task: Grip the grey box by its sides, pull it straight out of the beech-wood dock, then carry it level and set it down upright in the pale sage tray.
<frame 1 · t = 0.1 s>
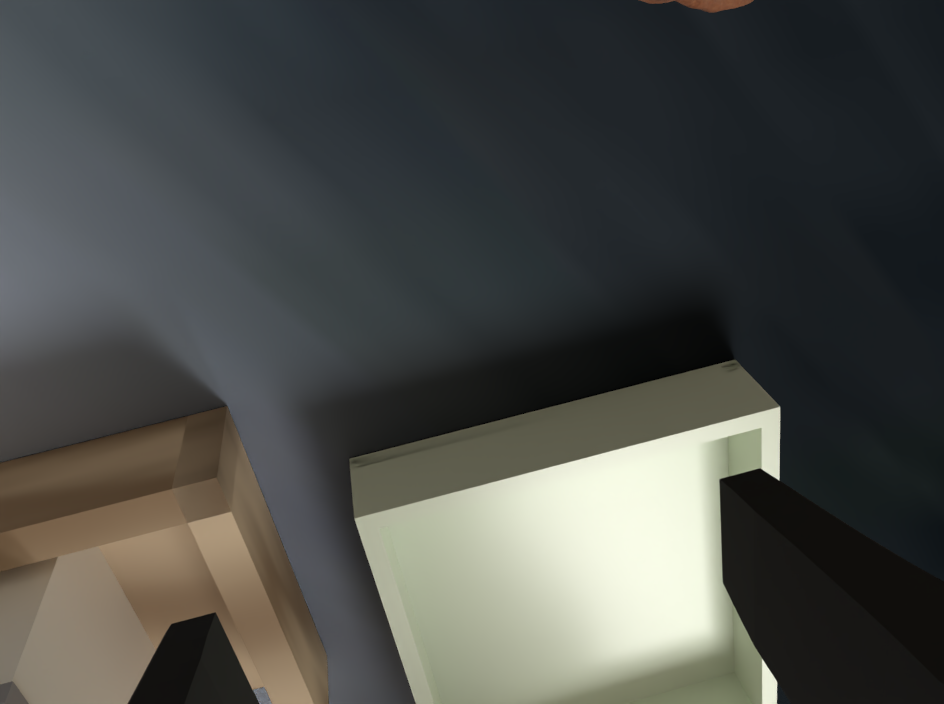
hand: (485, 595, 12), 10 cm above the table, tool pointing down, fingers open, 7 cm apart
tray: (572, 577, 26), on the table
dock: (54, 611, 23), on the table
grey box: (49, 624, 22), resting on dock
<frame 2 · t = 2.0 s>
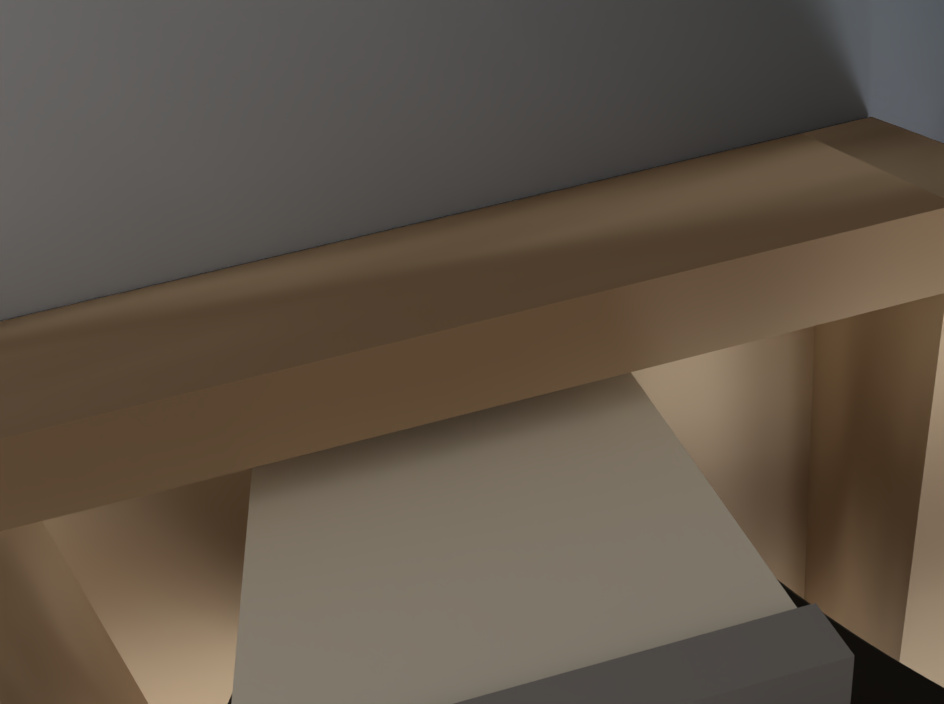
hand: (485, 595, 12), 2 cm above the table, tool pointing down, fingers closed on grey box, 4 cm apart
dock: (465, 521, 13), on the table
grey box: (471, 542, 13), resting on dock, touching gripper
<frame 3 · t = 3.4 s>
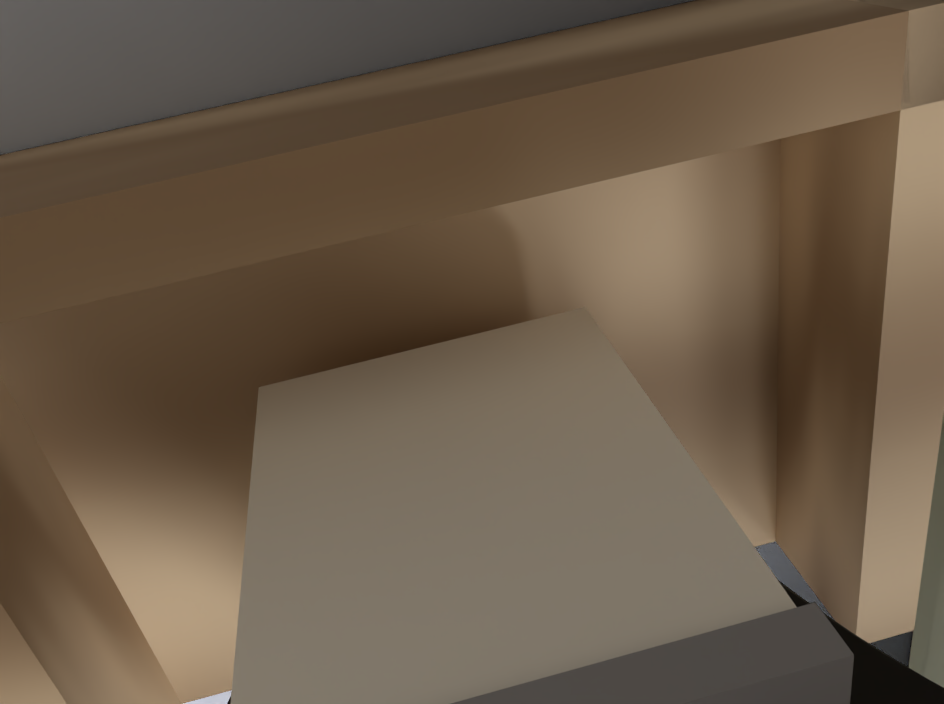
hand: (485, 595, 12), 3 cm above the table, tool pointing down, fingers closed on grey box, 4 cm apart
dock: (432, 399, 13), on the table
grey box: (470, 542, 13), point 1 cm above the table, touching gripper
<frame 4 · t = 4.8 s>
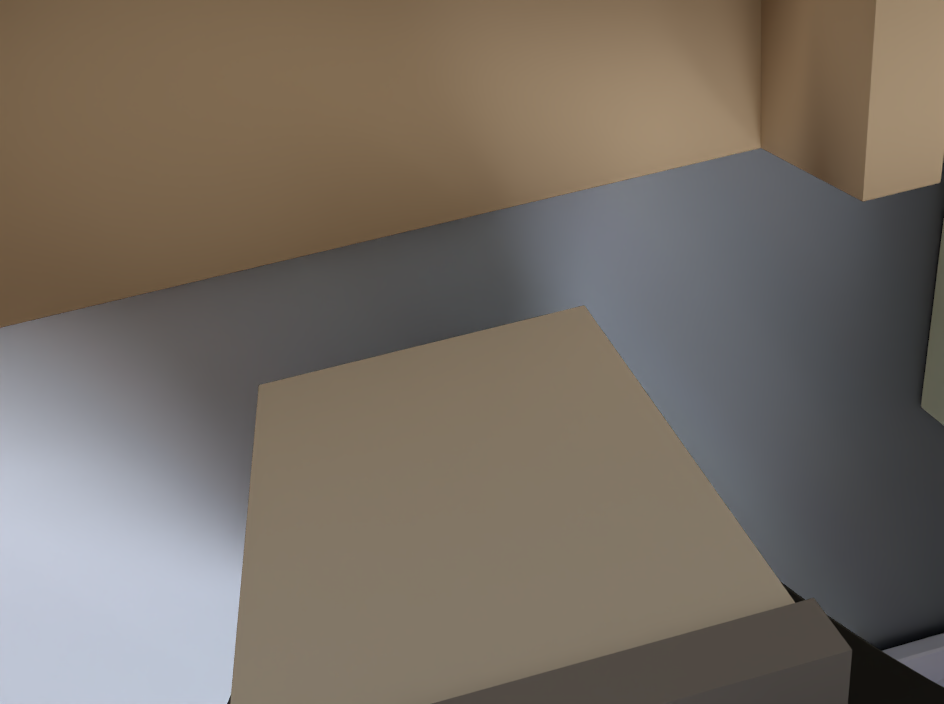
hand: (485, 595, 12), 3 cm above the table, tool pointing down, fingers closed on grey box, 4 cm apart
grey box: (470, 540, 13), point 2 cm above the table, touching gripper
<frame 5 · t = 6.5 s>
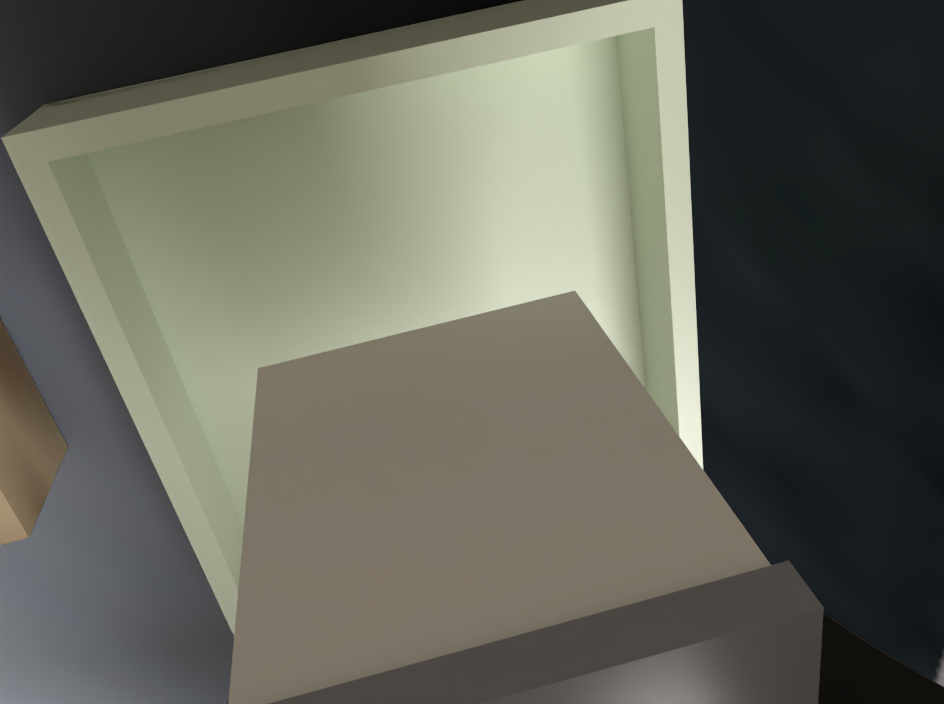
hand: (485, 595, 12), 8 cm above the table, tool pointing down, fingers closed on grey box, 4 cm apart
tray: (417, 340, 18), on the table
grey box: (464, 522, 13), point 6 cm above the table, touching gripper
when the fingers open (3 cm above the table, at t = 7.7 s): grey box drops 1 cm, resting on tray.
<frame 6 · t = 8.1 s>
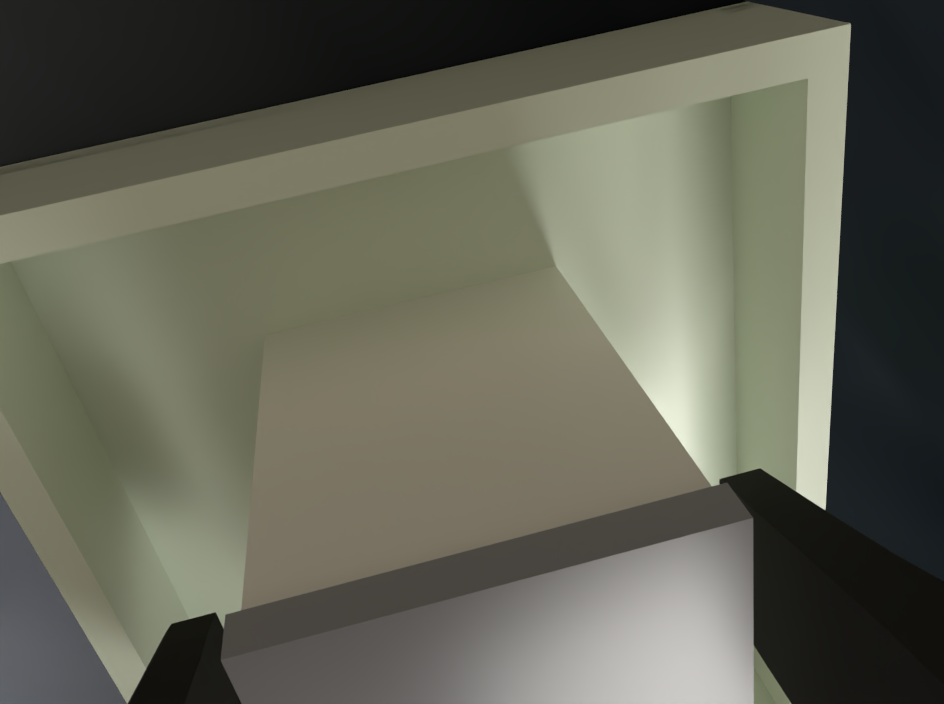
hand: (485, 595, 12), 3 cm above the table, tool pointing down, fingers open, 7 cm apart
tray: (450, 465, 14), on the table
grey box: (455, 483, 14), resting on tray
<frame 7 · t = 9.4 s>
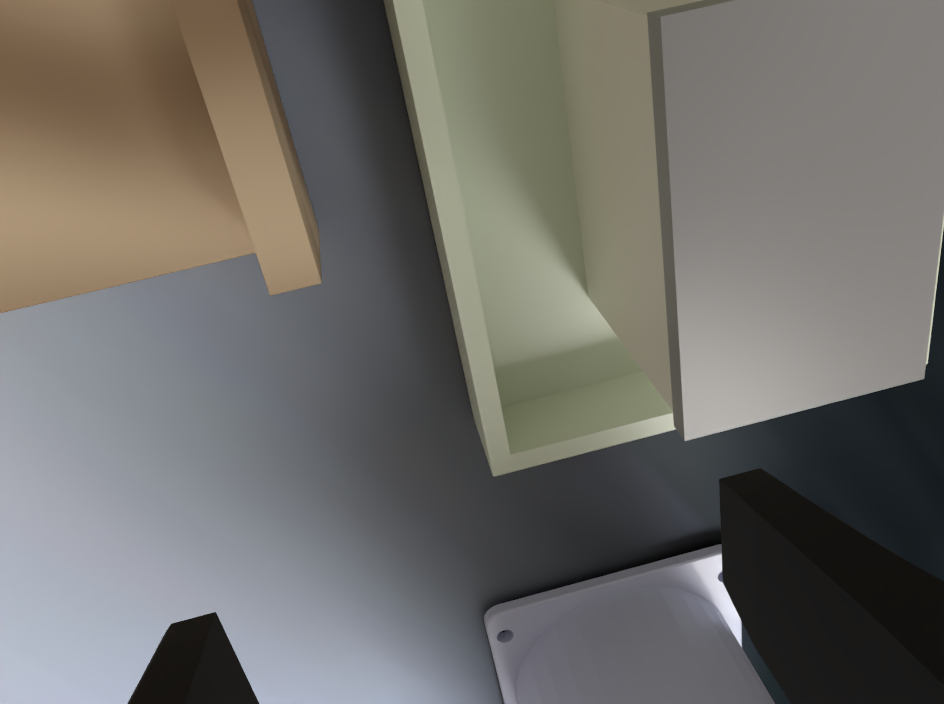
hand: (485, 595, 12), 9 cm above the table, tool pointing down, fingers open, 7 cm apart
tray: (658, 128, 19), on the table
grey box: (666, 134, 18), resting on tray
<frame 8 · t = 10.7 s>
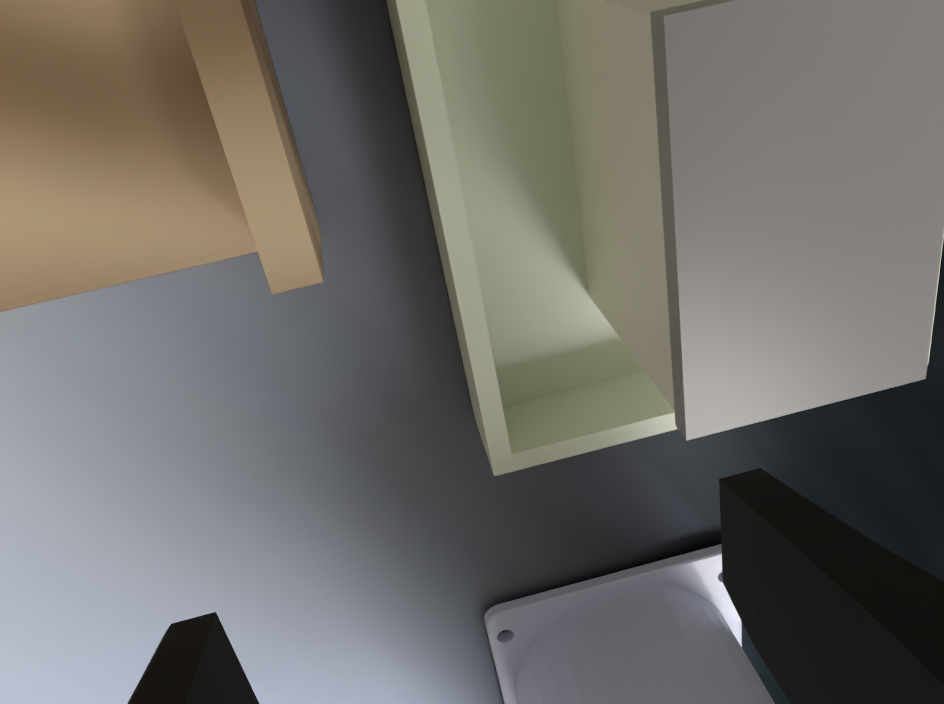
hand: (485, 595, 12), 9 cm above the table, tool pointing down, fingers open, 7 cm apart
tray: (660, 128, 19), on the table
grey box: (668, 134, 18), resting on tray
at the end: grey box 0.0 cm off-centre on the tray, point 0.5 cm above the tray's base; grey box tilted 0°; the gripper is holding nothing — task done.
